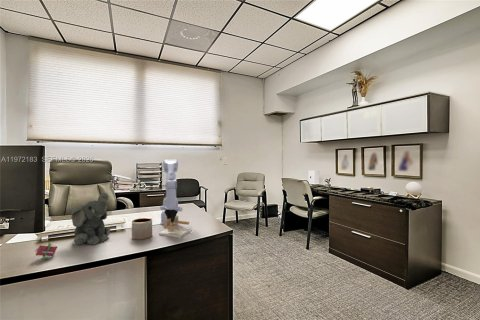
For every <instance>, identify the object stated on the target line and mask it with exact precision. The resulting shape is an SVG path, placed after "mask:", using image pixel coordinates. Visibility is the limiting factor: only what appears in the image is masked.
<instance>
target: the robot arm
mask: <svg viewBox="0 0 480 320" xmlns="http://www.w3.org/2000/svg"><path fill="white" fill-rule="evenodd" d="M162 166H163V172H164V173H165V174H166V175H165V176H166V178H165V179H166V180H165V193H166V194H165V197H164V198H163V200H162V201H163V202H162V205H161V206H159V207H160V208H159V209H160V210H162V211H161V215H160V225H164V220H167V219H169V218H171V226H173V225H172V223H173V222H174V220H175V217H176V216H177V214H178V213H179V212H183V207H180V206H179V200H178V197H177V188H178V181H177V178H176V177H177V175H176V173H177V172H178V169H179V160H178V159H163V160H162Z"/></svg>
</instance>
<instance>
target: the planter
mask: <svg viewBox="0 0 480 320" xmlns="http://www.w3.org/2000/svg"><path fill="white" fill-rule="evenodd" d="M152 236H153V219H152V218H149V217H139V218H136V219H135V218H134V219H133V220H132V221H131V238H132V239H134V240H138V241H140V240H146V239H149V238H151V237H152Z"/></svg>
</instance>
